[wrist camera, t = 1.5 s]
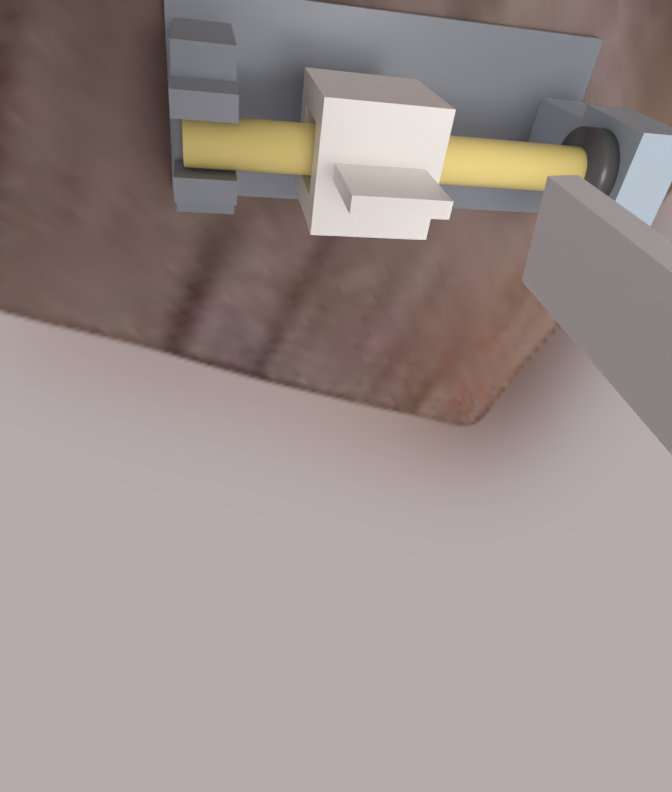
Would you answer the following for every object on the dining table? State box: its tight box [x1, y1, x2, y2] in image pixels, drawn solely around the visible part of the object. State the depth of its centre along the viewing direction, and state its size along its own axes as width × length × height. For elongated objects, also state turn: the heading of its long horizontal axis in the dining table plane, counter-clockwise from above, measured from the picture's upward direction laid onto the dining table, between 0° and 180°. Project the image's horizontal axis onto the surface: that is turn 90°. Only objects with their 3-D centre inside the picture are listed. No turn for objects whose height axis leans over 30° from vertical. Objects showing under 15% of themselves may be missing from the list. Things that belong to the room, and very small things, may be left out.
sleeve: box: [295, 67, 456, 240], centre depth 28 cm, size 6×6×10 cm
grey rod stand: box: [164, 0, 672, 226], centre depth 33 cm, size 26×11×12 cm, turn 83°
